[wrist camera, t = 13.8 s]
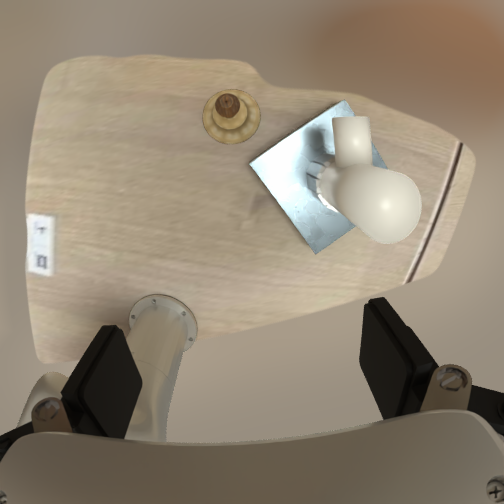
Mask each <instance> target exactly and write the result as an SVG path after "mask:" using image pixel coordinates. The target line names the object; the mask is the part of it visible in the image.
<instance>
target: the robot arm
mask: <svg viewBox="0 0 504 504" xmlns="http://www.w3.org/2000/svg"><path fill="white" fill-rule="evenodd" d="M184 311H185V312H184ZM129 326H130V332H129V334H128V336H127V338H125V336H124V333H123V331H122V329H119V328H118V327H117V326H116V325H105V326H102V327H101V329H100V330H99V332H98V333H97V335H96V336H95V338H94V339H93V341H92V342H91V344H90V345H89V347H88V348H87V350H86V352H85V353H84V355H83V356H82V358H81V359H80V361H79V363H78V364H77V366H76V367H75V369H74V371H73V372H72V374H71V376H70V377H69V378H68V377H66V376H64V375H62V374H60V373H57V372H49V373H46V374H44V375H43V376H42V377H41V378H40V379H39V380H38V381H37V383H36V384H35V386H34V387H33V389H32V391H31V393H30V395H29V397H28V400H27V402H26V404H25V407H24V409H23V412H22V414H21V417H20V420H19V422H18V425H17V427H16V429H13V430H11V431H9V432H7V433H5V434H3V435H1V436H0V504H504V393H501V392H497V391H494V390H490V389H486V388H482V387H478V386H474V385H472V378H471V375H470V373H469V372H468V371H467V370H466V369H464V368H463V367H461V366H458V365H454V364H447V365H443V366H440V367H439V366H438V364H437V363H436V362H435V360H434V359H433V357H432V356H431V355H430V353H429V352H428V351H427V349H426V348H425V347H424V345H423V344H422V343H421V341H420V340H419V338H418V337H417V336H416V335H415V333H414V332H413V330H412V329H411V328H410V327H408V326H406V325H405V323H404V322H403V321H402V319H401V318H400V317H399V315H398V314H397V313H396V311H395V310H394V309H393V308H392V306H391V305H390V304H389V302H388V301H387V300H386V299H385V298H384V297H380V298H374V299H370V300H369V301H368V303H367V304H365V305H364V314H363V326H362V337H361V347H360V357H359V362H360V366H361V369H362V371H363V373H364V376H365V378H366V380H367V382H368V385H369V387H370V389H371V391H372V394H373V396H374V398H375V401H376V403H377V405H378V408H379V410H380V412H381V415H382V417H383V420H382V421H377V422H374V423H369V424H364V425H359V426H355V427H349V428H344V429H340V430H334V431H328V432H323V433H316V434H310V435H304V436H296V437H288V438H278V439H268V440H258V441H244V442H221V443H175V442H166V427H167V418H168V412H169V407H170V402H171V398H172V394H173V390H174V386H175V382H176V378H177V374H178V370H179V366H180V362H181V358H182V354H183V352H185V351H187V350H188V349H189V348H190V347H191V346H192V345H193V343H194V341H195V339H196V336H197V323H196V320H195V318H194V316H193V314H192V313H191V311H190V310H189V309H188V308H187V307H186V306H185V305H184V304H182V303H181V302H179V301H178V300H176V299H174V298H171V297H168V296H164V295H151V296H147V297H144V298H142V299H141V300H139V301H138V302H137V303H136V304H135V305H134V307H133V308H132V310H131V312H130V316H129Z"/></svg>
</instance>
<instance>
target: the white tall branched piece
mask: <svg viewBox="0 0 504 504" xmlns="http://www.w3.org/2000/svg"><path fill="white" fill-rule="evenodd" d="M332 126H333V137H334V149H335V162H333V163H331V164H330V165H329V166H328V167H327V168H326V169H325V170H324V172H323V174H322V176H321V180H320V189H321V193H322V195H323V197H324V199H325V200H326V201H327V202H328V203H329V204H330V205H331V206H332V207H334V208H335V209H336V210H337V211H339V212H340V213H341V214H342V215H344V216H345V217H346V218H347V219H348V220H350V221H351V222H352V223H353V224H354V225H356V226H357V227H358V228H359V229H360V230H362V231H363V232H364V233H365V234H366V235H367V236H369V237H370V238H371V239H373V240H374V241H376V242H379V243H383V244H392V243H396V242H399V241H401V240H403V239H404V238H406V237H407V236H408V235H409V234H410V233H411V232H412V231H413V230H414V228H415V227H416V225H417V223H418V221H419V218H420V215H421V208H422V202H421V196H420V192H419V190H418V188H417V186H416V185H415V183H414V182H413V181H412V180H411V179H410V178H409V177H408V176H406V175H404V174H402V173H399V172H395V171H391V170H388V169H384V168H380V167H376V166H373V161H372V144H371V130H370V119H369V117H362V116H350V117H335V118H332Z"/></svg>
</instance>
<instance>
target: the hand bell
mask: <svg viewBox="0 0 504 504" xmlns="http://www.w3.org/2000/svg"><path fill="white" fill-rule="evenodd" d="M260 116H261V115H260V109H259V106H258V104H257V102H256V101H255V100H254V99H253V98H252V96H250V95H249V94H247V93H246V92H243V91H240V90H236V89H229V90H224V91H221V92H219V93H217V94H215V95H214V96H212V97H211V98H210V99H209V101H208V102H207V104H206V105H205V108H204V111H203V124H204V127H205V129H206V131H207V132H208V134H209V135H210V136H211V137H212V138H214V139H215V140H217V141H219V142H221V143H224V144H238V143H241V142H244V141H246V140H247V139H249V138H250V137H251V136H252V135H253V134H254V133H255V132H256V130H257V128H258V126H259V123H260Z"/></svg>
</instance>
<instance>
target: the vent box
mask: <svg viewBox="0 0 504 504" xmlns="http://www.w3.org/2000/svg"><path fill="white" fill-rule="evenodd" d="M350 116H355V114H354V113H353V111H352V110H351V108H350V107H349V105H348V104H347V102H346V101H345V100H342V101H340V102H337V103H335V104H334V105H332V106H331V107H329V108H327V109H326V110H324V111H323V112H321V113H320V114H318V115H317V116H315V117H314V118H312V119H311V120H309V121H308V122H306V123H305V124H303V125H302V126H300V127H299V128H297V129H296V130H294V131H293V132H291V133H290V134H288V135H287V136H285V137H284V138H283V139H281V140H280V141H278V142H277V143H275V144H274V145H273V146H271V147H270V148H268V149H267V150H265V151H264V152H263V153H261V154H260V155H258V156H257V157H256V158H254V159H253V160H252V161H250V162H249V163H250V165H251V166H252V168H253V169H254V170H255V172H256V173H257V174H258V176H259V177H260V178H261V180H262V181H263V182H264V184H265V185H266V186H267V188H268V189H269V190H270V192H271V193H272V194H273V196H274V197H275V198H276V200H277V201H278V203H279V204H280V205H281V207H282V208H283V209H284V211H285V212H286V214H287V215H288V216H289V218H290V219H291V220H292V222H293V223H294V225H295V226H296V227H297V229H298V230H299V232H300V233H301V235H302V236H303V237H304V239H305V240H306V242H307V243H308V244H309V246H310V247H311V249H312V250H313V252H314V253H315V254H317V253H318V252H320V251H321V250H323V249H324V248H326V247H327V246H328V245H330V244H331V243H333V242H334V241H336V240H337V239H338V238H340V237H341V236H343V235H344V234H346V233H347V232H348V231H350V230H351V229H353V228H354V227H355V226H356V225H354V224H353V223H352V222H351V221H350V220H348V219H347V218H346V217H345V216H344V215H342V214H341V213H340V212H339V211H337V210H336V209H335V208H334V207H332V206H331V205H330V204H329V203H328V202H327V201H326V200H325V199H324V197H323V195H322V193H321V189H320V180H321V176H322V174H323V172H324V170H325V169H326V168H327V167H328V166H329V165H330V164H331V163H333V162H335V149H334V137H333V126H332V118H335V117H350ZM371 144H372V161H373V166H376V167H380V168H384V169H387V167H386V165H385V163H384V161H383V160H382V158H381V156H380V155H379V153H378V151H377V149H376V148H375V146H374V144H373V143H372V141H371Z"/></svg>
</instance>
